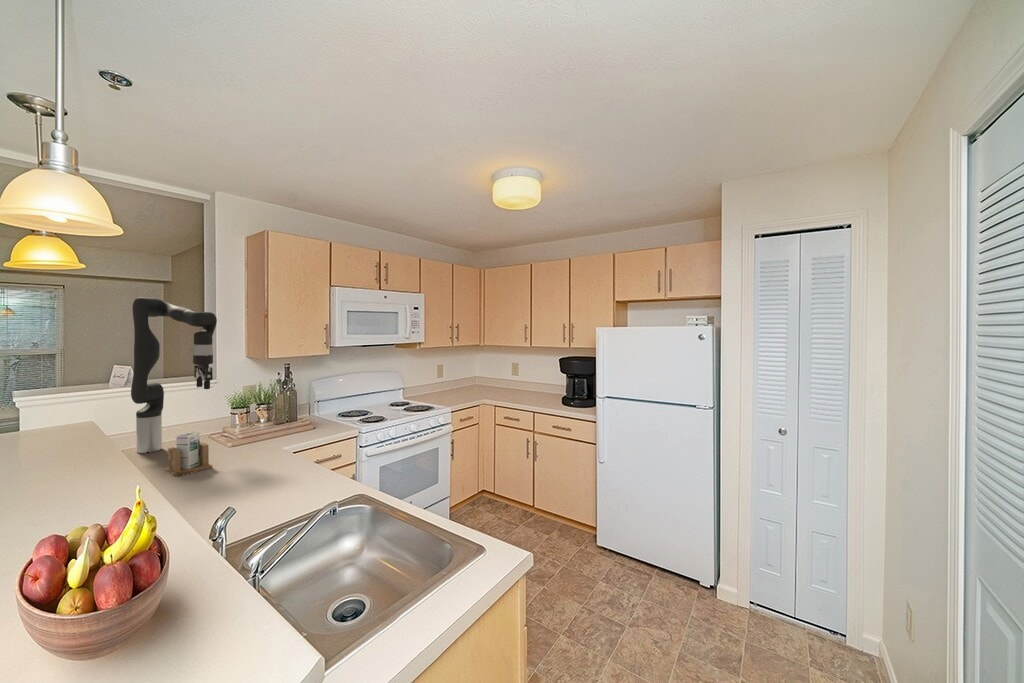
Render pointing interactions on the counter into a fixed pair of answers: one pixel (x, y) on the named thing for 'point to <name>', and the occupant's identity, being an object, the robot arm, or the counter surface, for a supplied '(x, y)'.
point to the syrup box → (189, 449)
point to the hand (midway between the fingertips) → (203, 388)
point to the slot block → (175, 461)
